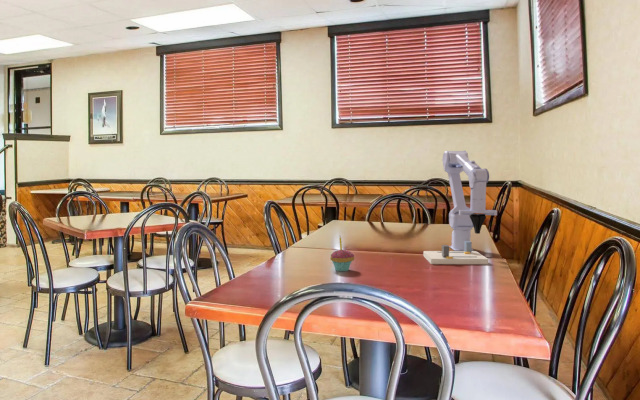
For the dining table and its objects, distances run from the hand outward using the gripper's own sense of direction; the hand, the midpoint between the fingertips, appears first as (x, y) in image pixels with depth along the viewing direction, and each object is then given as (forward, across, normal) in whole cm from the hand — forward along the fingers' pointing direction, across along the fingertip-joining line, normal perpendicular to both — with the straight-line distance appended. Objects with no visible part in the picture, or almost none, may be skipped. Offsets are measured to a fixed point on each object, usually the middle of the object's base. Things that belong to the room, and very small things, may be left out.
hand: (477, 233), depth 184 cm
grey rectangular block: (+7, -4, -2) cm, 8 cm away
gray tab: (+7, -15, -11) cm, 20 cm away
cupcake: (+10, -54, -24) cm, 60 cm away
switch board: (+9, -10, -6) cm, 16 cm away
